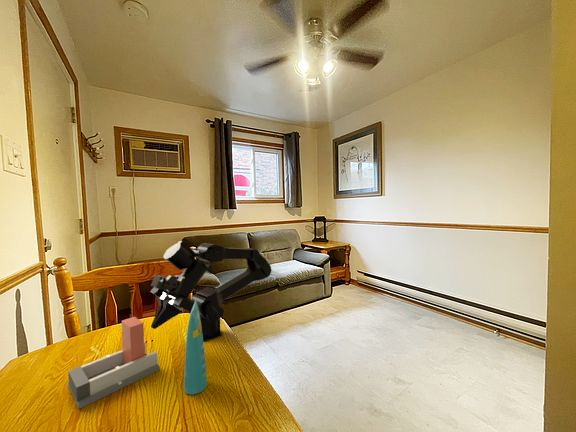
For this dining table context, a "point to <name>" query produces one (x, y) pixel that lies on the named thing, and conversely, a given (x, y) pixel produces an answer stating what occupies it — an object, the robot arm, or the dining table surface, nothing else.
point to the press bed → (108, 376)
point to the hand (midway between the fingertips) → (152, 328)
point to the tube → (194, 355)
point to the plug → (132, 339)
